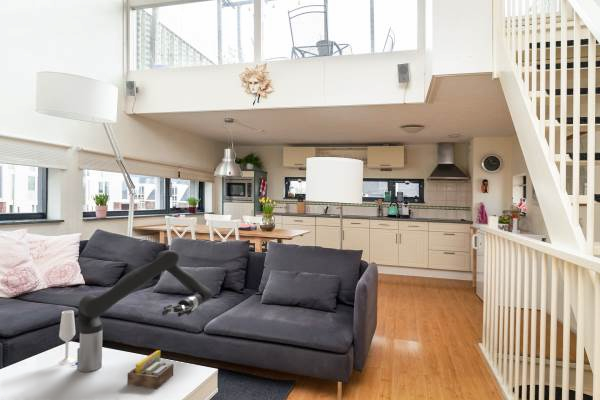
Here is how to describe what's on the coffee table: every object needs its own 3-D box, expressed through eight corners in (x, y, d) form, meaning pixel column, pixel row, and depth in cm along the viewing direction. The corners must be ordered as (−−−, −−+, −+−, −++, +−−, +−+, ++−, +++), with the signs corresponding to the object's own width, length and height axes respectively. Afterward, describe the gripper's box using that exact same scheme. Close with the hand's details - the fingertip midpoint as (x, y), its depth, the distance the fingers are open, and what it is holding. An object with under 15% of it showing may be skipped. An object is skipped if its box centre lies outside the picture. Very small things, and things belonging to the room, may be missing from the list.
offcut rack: (127, 385, 155) (127, 373, 155) (145, 371, 167) (145, 360, 167) (157, 389, 152) (157, 377, 152) (173, 375, 164) (173, 364, 164)
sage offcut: (145, 383, 156) (145, 369, 156) (156, 375, 164) (156, 361, 164) (149, 384, 156) (149, 370, 156) (160, 375, 164) (160, 362, 164)
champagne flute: (54, 363, 174) (56, 312, 174) (68, 357, 180) (69, 309, 180) (65, 365, 172) (66, 314, 172) (78, 359, 178) (79, 310, 178)
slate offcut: (153, 385, 155) (153, 372, 155) (162, 377, 162) (162, 365, 162) (157, 385, 154) (157, 372, 155) (166, 378, 161) (166, 365, 161)
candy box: (138, 384, 156) (139, 365, 156) (134, 383, 156) (134, 364, 156) (160, 367, 171) (160, 350, 172) (156, 367, 172) (156, 349, 172)
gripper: (176, 296, 198) (157, 305, 182) (200, 298, 194) (183, 307, 179) (176, 310, 198) (157, 320, 182) (200, 312, 194) (183, 323, 179)
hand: (170, 314), depth 180 cm, fingers open, 8 cm apart
